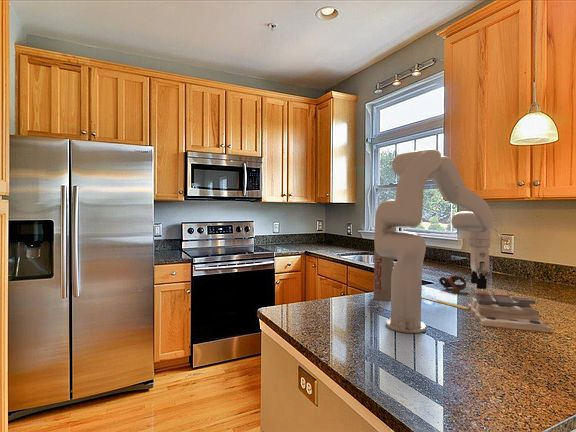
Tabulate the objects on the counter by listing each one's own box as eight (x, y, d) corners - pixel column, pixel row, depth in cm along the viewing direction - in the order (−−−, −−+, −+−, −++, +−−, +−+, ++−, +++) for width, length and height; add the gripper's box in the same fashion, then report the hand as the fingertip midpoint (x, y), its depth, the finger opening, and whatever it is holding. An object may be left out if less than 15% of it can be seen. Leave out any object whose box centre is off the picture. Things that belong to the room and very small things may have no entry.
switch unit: (551, 332, 109) (551, 315, 109) (481, 325, 115) (482, 309, 115) (525, 312, 130) (525, 298, 130) (467, 307, 136) (468, 294, 136)
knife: (405, 290, 162) (398, 290, 160) (473, 307, 135) (467, 307, 132) (404, 293, 162) (398, 293, 159) (473, 310, 135) (466, 310, 132)
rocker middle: (513, 306, 121) (514, 302, 121) (498, 304, 122) (498, 301, 122) (506, 296, 128) (507, 292, 128) (492, 295, 130) (492, 291, 130)
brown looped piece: (463, 289, 168) (468, 277, 164) (461, 302, 161) (467, 289, 157) (437, 281, 173) (442, 269, 168) (435, 293, 166) (440, 280, 161)
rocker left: (493, 304, 123) (493, 300, 123) (478, 303, 124) (478, 299, 124) (487, 294, 130) (487, 291, 130) (473, 293, 132) (473, 290, 131)
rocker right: (535, 304, 119) (535, 299, 119) (519, 302, 120) (519, 298, 120) (526, 301, 126) (526, 297, 127) (511, 300, 128) (511, 296, 128)
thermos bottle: (380, 301, 143) (382, 235, 143) (369, 296, 151) (371, 234, 150) (396, 299, 146) (397, 235, 146) (384, 295, 154) (385, 233, 153)
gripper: (496, 246, 125) (495, 291, 125) (484, 241, 142) (483, 282, 142) (473, 245, 127) (472, 290, 128) (464, 240, 144) (463, 280, 144)
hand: (478, 286), depth 135 cm, fingers open, 9 cm apart
